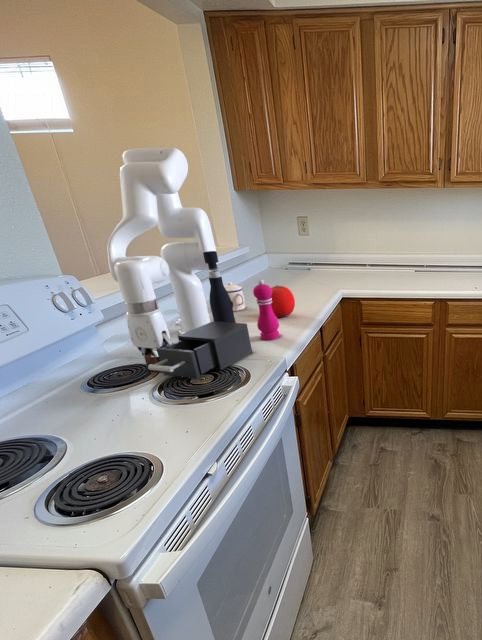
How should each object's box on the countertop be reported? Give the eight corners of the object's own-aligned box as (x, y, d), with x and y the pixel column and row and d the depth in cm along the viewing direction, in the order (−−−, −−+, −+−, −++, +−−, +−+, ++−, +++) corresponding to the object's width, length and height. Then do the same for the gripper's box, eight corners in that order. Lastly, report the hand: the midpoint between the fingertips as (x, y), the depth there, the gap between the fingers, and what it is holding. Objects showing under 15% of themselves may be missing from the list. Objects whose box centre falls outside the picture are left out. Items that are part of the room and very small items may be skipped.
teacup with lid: (219, 310, 181) (213, 283, 176) (237, 305, 188) (232, 279, 183) (237, 313, 175) (231, 286, 171) (254, 308, 182) (249, 281, 177)
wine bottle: (220, 348, 136) (198, 254, 124) (218, 342, 142) (197, 251, 129) (240, 344, 139) (221, 252, 127) (238, 339, 144) (219, 249, 132)
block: (148, 370, 121) (143, 356, 119) (160, 364, 125) (156, 350, 123) (160, 372, 119) (156, 357, 118) (172, 366, 123) (168, 351, 122)
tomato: (295, 311, 176) (291, 281, 171) (297, 318, 166) (293, 286, 161) (265, 314, 173) (259, 284, 167) (265, 322, 162) (260, 290, 157)
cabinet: (221, 370, 119) (213, 338, 115) (185, 366, 122) (177, 335, 119) (252, 352, 132) (246, 323, 128) (219, 349, 135) (213, 321, 131)
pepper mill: (274, 340, 141) (265, 282, 133) (255, 340, 143) (244, 281, 135) (284, 334, 148) (275, 277, 140) (266, 333, 149) (256, 277, 141)
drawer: (181, 388, 107) (173, 360, 103) (146, 384, 110) (138, 356, 107) (230, 360, 123) (225, 335, 120) (199, 357, 126) (193, 333, 123)
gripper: (107, 309, 114) (127, 370, 121) (155, 312, 109) (173, 375, 116) (130, 302, 120) (148, 360, 128) (177, 304, 115) (193, 365, 123)
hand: (160, 367), depth 122 cm, fingers closed on block, 4 cm apart
